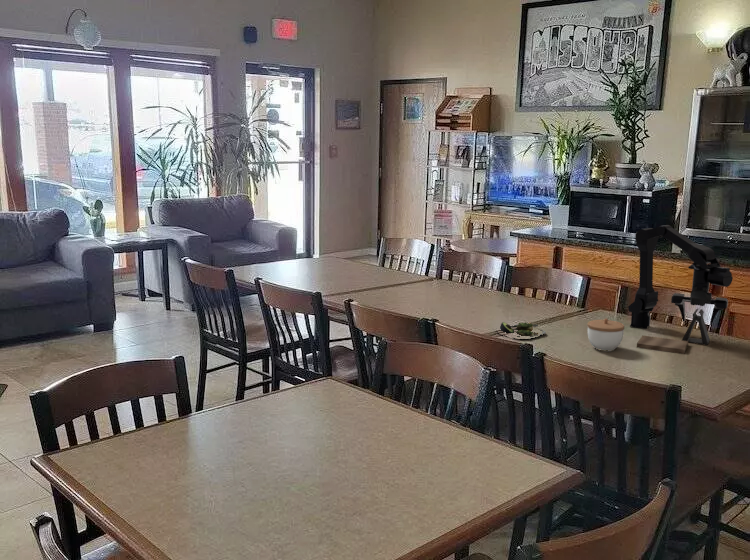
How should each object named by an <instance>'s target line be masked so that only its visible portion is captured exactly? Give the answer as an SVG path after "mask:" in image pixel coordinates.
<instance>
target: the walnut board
mask: <svg viewBox="0 0 750 560" xmlns="http://www.w3.org/2000/svg"><path fill="white" fill-rule="evenodd" d="M688 346H689V342H688V341H682V339H673V338H665V337H657V336H650V335H641V337H640V338H639V339H638V341H637V343H636V348H638V347H640V348H641V349H646V350H654V351H662V352H669V353H677V354H683V355H684V354H685V353H686V351H687V348H688ZM640 348H639V349H640Z"/></svg>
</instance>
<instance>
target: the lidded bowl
mask: <svg viewBox="0 0 750 560" xmlns="http://www.w3.org/2000/svg"><path fill="white" fill-rule="evenodd" d="M624 329H625V325H624V324H623V323H622V322H619V321H615V320H610V319H608V318H604V319H593V320H590V321H588V322H587V337H588V342H589V343H590V344H591V346H593V348H594V347H595V348H597V349H601V350H608V351H607V352H612V351H611V350H613V351H615V350H614V349H616V348H617V347H619V346H620V344H621V342H622V340H623V338H624ZM595 348H594V349H595ZM597 349H596V350H597ZM609 350H610V351H609Z"/></svg>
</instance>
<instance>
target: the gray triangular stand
mask: <svg viewBox="0 0 750 560" xmlns="http://www.w3.org/2000/svg"><path fill="white" fill-rule="evenodd" d="M697 312H698V314H700V315H697ZM704 313H705V311H704V310H703V309H702V308H700V309H699V308H697V309H695V310H694V312H693V314H692V320H691V322H690V324H689V326H688V327H687V329H686V331H685V333H684V335H683V338H682V339H681V340H682V341H688V344H696V343H698V344H697V345H703V344H705V346H708V345H709V343H710V342H711V339H710V335H709V332H708V329H707V328H708V327H707V326H706V322H705V319H704ZM696 322H698V326H699V330H700V331H699V332H700V336H701V337H700V338H696V337H691V335H692V334H691V333H692V331H693V329H694V326H695V324H696Z"/></svg>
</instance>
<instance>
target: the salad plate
mask: <svg viewBox="0 0 750 560" xmlns="http://www.w3.org/2000/svg"><path fill="white" fill-rule="evenodd" d="M510 325H511V324H508V323H506V322H505V321H502V322H501V323H500V329H501V331H503V332H506V333H514V329H512V328H511V327H517V328H516V329H515V330H518V331H517V332H516V333H517V334H519V335H521V336H530V337H533V336H535V333H532V332H531V331H532V330H533V328H534V329H538V330H540V331H542V334H544V335H545V334H546V330H544V329H541V328H537V327H539V324H532V322H529V323H527V322H518V324H517V323H516V325H514V324H513V325H514V326H510ZM542 334H540V335H542ZM536 336H538V334H537V335H536ZM542 336H543V335H542ZM517 337H520V336H517Z"/></svg>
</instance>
